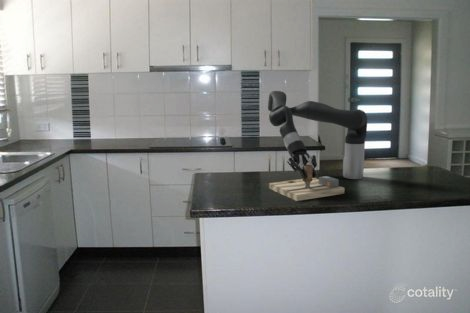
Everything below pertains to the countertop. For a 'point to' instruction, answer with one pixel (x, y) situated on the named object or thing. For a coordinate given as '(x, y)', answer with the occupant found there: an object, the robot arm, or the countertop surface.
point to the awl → (308, 175)
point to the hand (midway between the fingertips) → (310, 177)
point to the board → (298, 191)
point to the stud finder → (328, 181)
